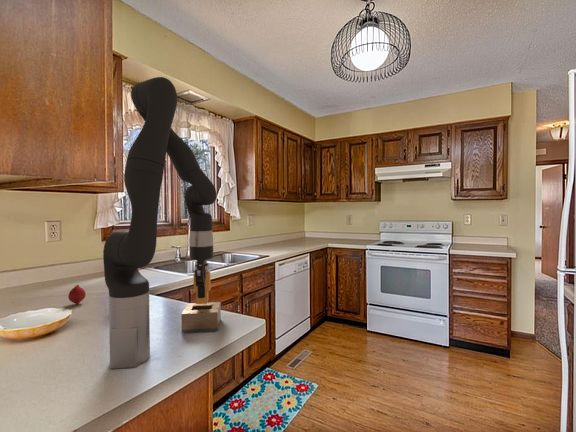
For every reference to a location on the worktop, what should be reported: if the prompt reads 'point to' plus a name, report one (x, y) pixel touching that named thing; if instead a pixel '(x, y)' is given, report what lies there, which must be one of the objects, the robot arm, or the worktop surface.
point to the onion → (76, 294)
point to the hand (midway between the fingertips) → (202, 295)
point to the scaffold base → (201, 317)
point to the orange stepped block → (207, 288)
